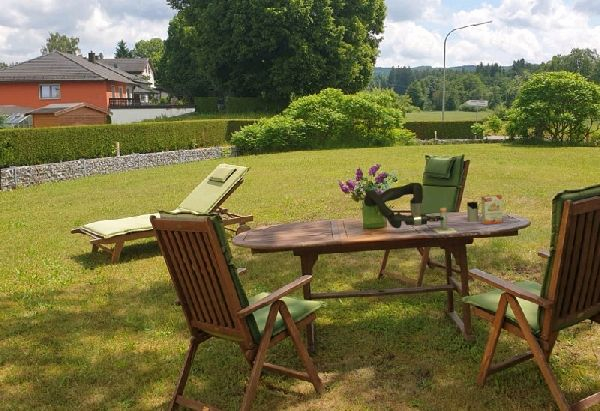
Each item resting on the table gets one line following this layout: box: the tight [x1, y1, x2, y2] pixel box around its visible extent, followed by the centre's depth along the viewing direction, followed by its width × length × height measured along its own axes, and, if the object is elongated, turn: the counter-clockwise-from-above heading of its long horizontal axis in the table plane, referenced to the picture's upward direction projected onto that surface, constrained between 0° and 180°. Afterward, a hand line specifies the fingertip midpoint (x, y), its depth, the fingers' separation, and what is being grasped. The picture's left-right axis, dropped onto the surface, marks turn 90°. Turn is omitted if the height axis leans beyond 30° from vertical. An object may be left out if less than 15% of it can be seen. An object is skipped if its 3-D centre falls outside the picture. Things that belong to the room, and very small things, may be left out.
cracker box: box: [480, 194, 503, 225], centre depth 443 cm, size 14×6×21 cm, turn 101°
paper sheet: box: [432, 227, 457, 234], centre depth 424 cm, size 16×13×1 cm
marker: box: [439, 207, 448, 230], centre depth 423 cm, size 5×5×16 cm
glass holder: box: [466, 201, 482, 223], centre depth 460 cm, size 9×14×15 cm, turn 104°
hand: (442, 217), depth 423 cm, fingers open, 8 cm apart
